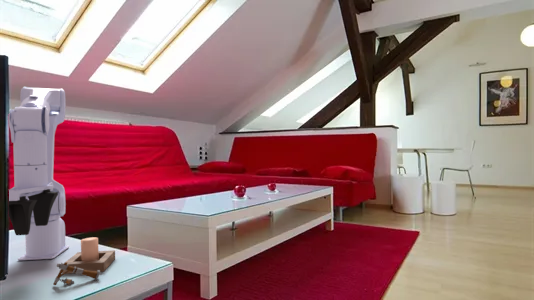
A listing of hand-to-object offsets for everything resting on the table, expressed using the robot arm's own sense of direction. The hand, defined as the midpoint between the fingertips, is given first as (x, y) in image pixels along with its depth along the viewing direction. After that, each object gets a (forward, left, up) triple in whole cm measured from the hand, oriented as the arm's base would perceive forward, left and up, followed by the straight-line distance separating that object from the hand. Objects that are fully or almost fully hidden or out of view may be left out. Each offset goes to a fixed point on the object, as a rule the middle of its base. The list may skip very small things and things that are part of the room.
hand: (32, 229), depth 72 cm
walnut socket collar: (-5, +10, -10) cm, 15 cm away
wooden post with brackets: (+5, +10, -10) cm, 15 cm away
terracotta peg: (-5, +10, -10) cm, 15 cm away
